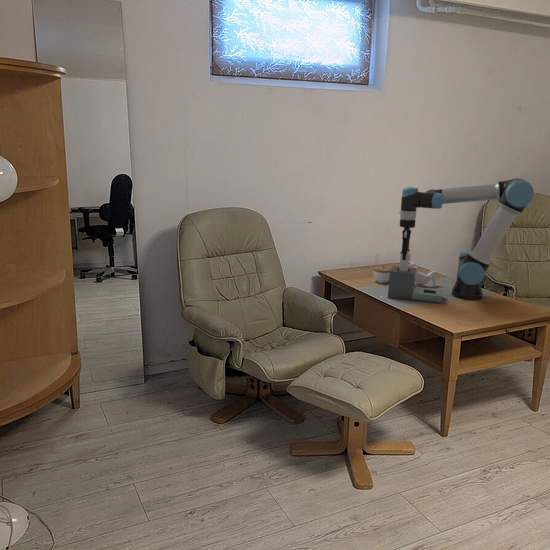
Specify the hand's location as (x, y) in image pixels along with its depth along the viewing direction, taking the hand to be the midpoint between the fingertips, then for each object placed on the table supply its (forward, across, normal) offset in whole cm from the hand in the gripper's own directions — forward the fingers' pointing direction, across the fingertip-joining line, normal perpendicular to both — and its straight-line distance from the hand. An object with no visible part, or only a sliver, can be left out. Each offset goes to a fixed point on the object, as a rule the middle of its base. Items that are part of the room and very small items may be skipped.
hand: (404, 264), depth 273 cm
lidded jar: (+17, -24, -13) cm, 32 cm away
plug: (+4, 0, 0) cm, 4 cm away
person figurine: (+17, -24, +7) cm, 30 cm away
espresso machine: (+17, 0, +7) cm, 18 cm away
